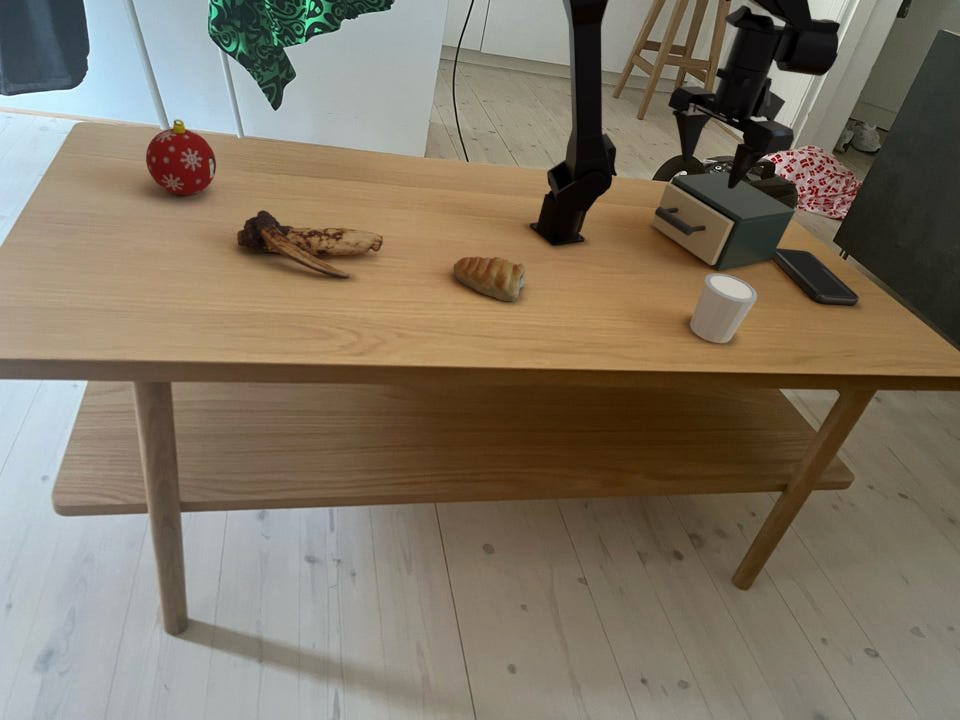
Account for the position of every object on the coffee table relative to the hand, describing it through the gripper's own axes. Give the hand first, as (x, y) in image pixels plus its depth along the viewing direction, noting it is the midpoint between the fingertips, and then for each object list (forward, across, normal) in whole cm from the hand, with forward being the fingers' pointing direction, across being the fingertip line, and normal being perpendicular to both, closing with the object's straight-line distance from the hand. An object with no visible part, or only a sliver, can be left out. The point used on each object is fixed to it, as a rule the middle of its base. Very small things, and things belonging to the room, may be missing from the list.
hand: (707, 175), depth 101 cm
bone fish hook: (+11, +10, +58) cm, 59 cm away
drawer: (+12, +1, -4) cm, 13 cm away
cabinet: (+13, +1, -9) cm, 16 cm away
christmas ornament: (+10, +31, +68) cm, 75 cm away
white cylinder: (+13, -19, +13) cm, 26 cm away
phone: (+14, -13, -18) cm, 26 cm away
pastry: (+12, -1, +37) cm, 39 cm away
